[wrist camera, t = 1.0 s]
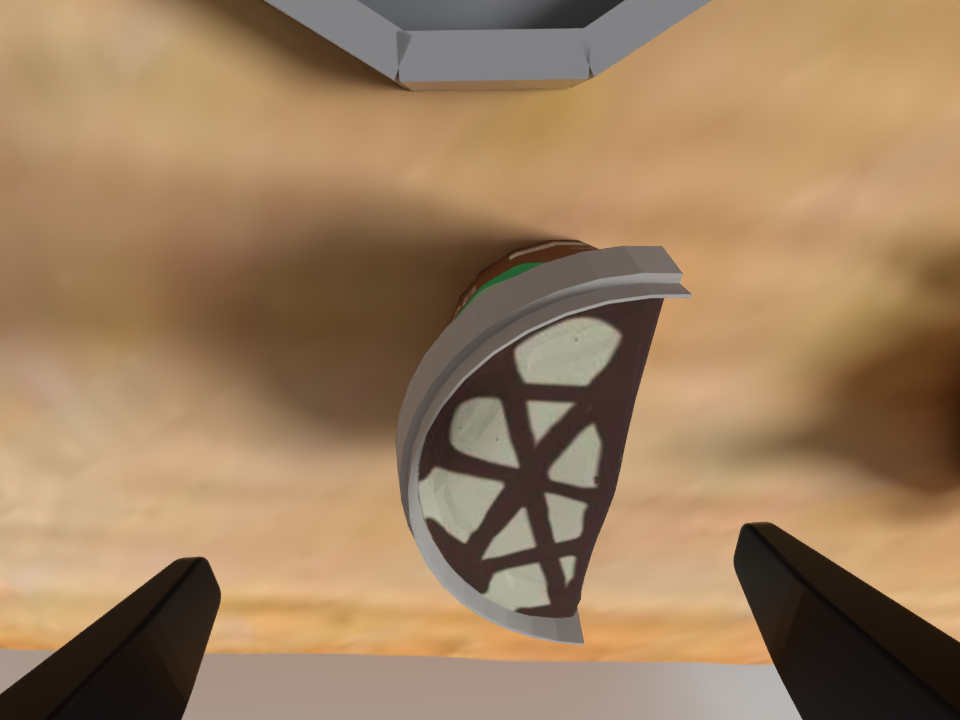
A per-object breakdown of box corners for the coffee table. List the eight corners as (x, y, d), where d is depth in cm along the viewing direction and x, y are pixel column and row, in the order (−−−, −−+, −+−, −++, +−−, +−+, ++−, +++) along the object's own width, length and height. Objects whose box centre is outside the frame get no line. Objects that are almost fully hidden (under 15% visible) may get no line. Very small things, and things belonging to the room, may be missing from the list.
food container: (428, 185, 18) (387, 238, 9) (586, 201, 18) (700, 268, 9) (415, 448, 23) (381, 648, 14) (537, 456, 24) (580, 656, 15)
